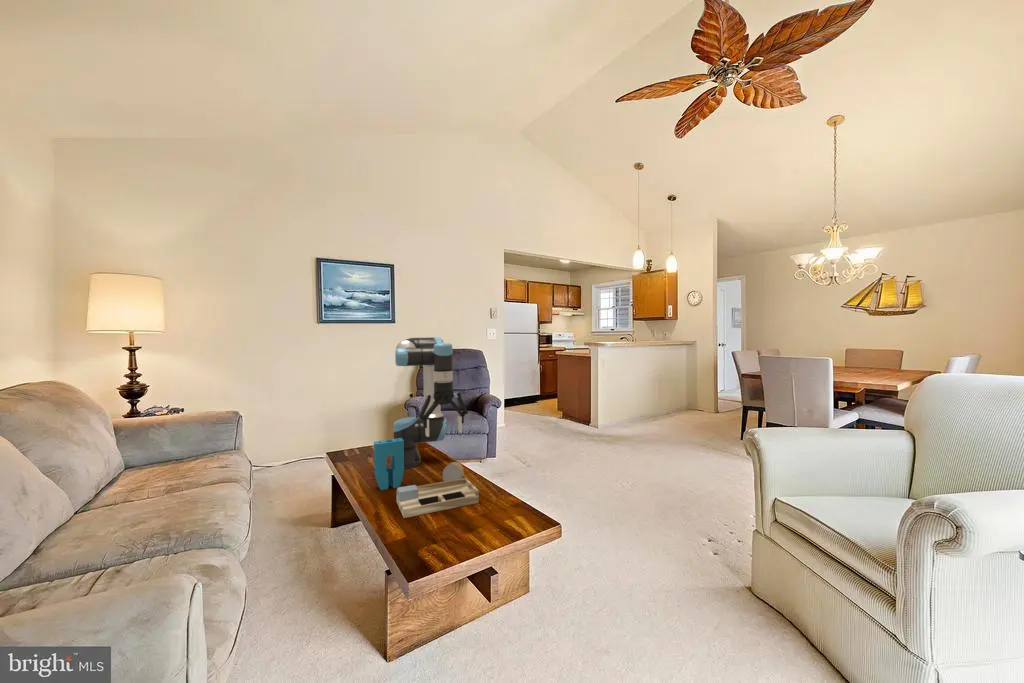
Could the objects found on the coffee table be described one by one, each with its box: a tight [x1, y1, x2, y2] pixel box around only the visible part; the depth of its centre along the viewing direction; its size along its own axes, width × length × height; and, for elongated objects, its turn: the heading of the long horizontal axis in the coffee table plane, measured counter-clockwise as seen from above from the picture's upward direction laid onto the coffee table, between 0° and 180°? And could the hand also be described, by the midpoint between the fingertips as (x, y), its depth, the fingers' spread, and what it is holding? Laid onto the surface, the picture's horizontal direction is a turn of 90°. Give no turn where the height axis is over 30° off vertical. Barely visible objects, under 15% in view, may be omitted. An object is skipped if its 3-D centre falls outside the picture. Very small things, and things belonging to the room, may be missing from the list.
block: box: [396, 484, 418, 501], centre depth 153 cm, size 5×7×4 cm
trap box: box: [396, 477, 480, 519], centre depth 155 cm, size 15×29×5 cm, turn 116°
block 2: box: [373, 438, 405, 491], centre depth 172 cm, size 12×5×20 cm, turn 119°
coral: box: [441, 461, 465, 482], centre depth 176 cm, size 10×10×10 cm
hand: (443, 433), depth 159 cm, fingers open, 13 cm apart
